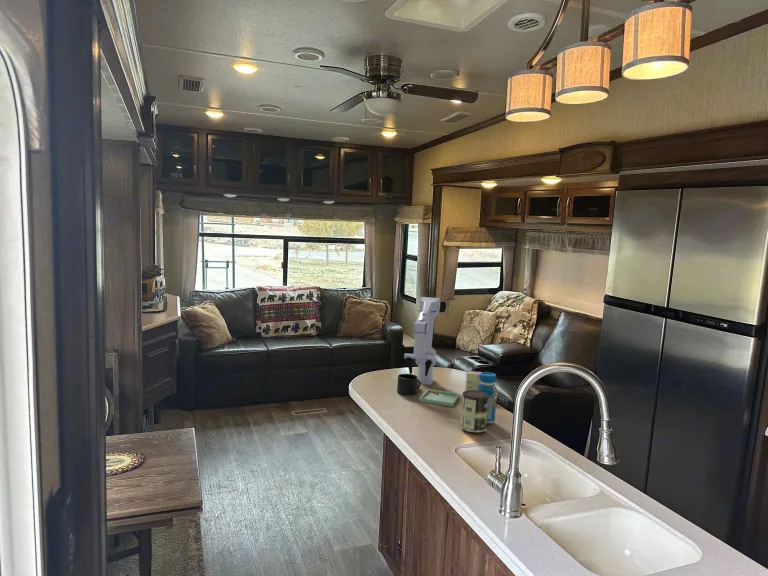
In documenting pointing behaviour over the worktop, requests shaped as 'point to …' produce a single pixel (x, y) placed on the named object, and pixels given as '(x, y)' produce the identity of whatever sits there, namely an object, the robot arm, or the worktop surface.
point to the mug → (407, 384)
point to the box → (472, 380)
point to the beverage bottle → (489, 393)
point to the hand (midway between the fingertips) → (418, 374)
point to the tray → (440, 398)
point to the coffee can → (474, 411)
